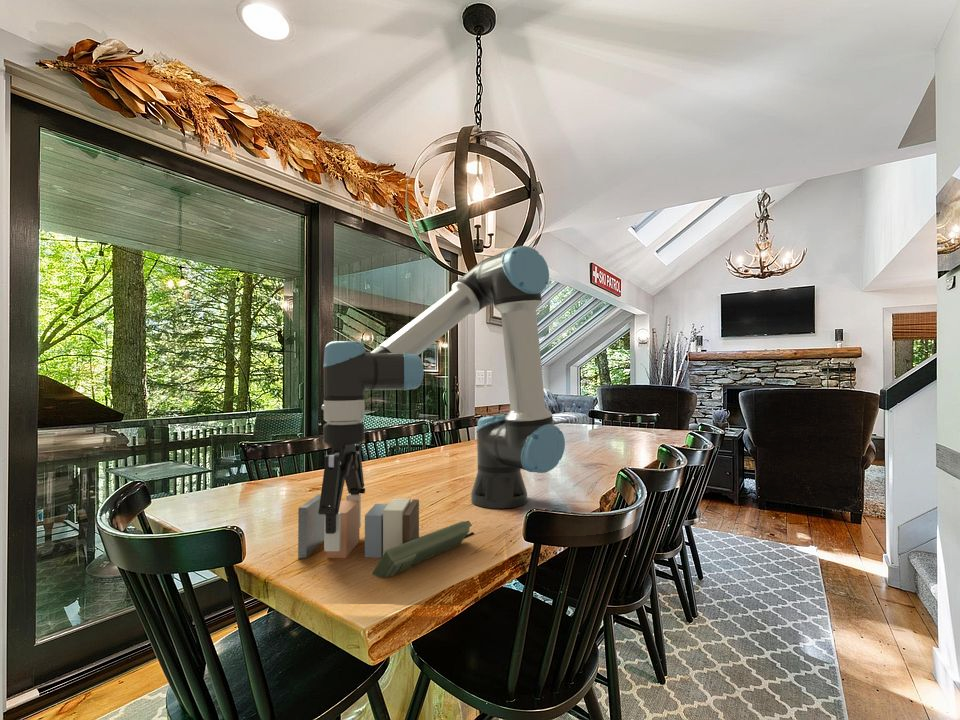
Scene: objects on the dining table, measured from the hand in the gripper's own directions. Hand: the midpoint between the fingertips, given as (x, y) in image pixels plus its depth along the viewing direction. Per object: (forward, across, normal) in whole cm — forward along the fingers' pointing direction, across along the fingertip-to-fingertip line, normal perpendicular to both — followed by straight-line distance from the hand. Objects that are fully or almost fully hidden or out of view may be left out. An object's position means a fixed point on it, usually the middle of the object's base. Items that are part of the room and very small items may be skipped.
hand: (343, 538), depth 85 cm
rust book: (+2, 0, 0) cm, 2 cm away
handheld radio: (+4, +1, +16) cm, 16 cm away
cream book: (+2, 0, +10) cm, 10 cm away
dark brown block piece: (+3, 0, +3) cm, 4 cm away
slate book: (+2, 0, +7) cm, 7 cm away
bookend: (+2, 0, -6) cm, 6 cm away
